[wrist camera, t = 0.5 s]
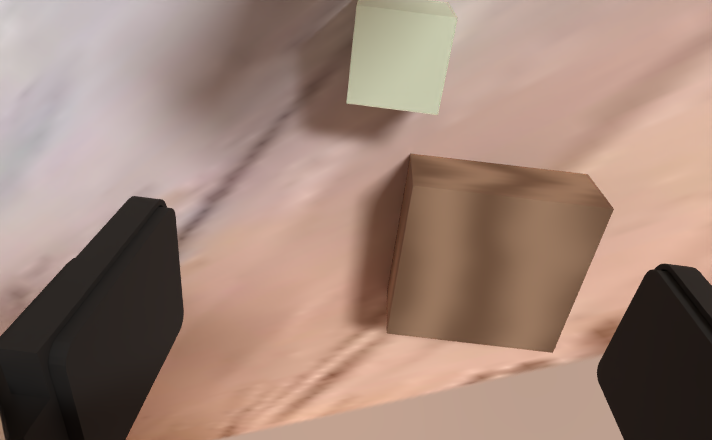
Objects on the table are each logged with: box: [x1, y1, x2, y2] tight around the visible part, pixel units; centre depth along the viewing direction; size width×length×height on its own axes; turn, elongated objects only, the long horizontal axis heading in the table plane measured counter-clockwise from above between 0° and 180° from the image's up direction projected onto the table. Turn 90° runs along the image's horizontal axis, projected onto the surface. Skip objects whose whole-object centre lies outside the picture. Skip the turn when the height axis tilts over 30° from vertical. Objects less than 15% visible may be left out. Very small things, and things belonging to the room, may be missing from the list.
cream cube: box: [346, 0, 457, 115], centre depth 28 cm, size 5×5×5 cm
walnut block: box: [387, 154, 614, 353], centre depth 35 cm, size 12×12×5 cm
